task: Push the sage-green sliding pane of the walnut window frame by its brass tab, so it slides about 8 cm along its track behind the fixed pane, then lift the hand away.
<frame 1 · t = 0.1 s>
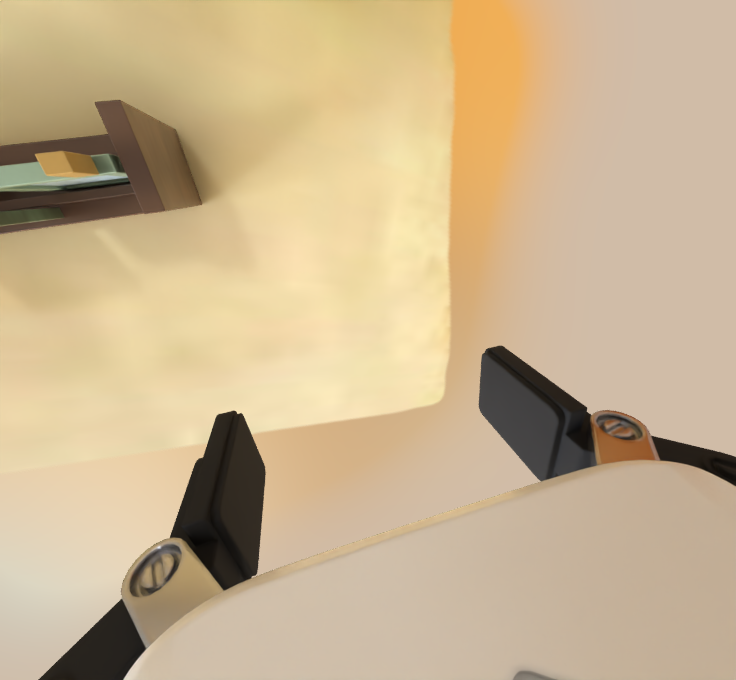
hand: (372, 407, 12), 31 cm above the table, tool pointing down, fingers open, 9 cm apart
sliding pane: (69, 174, 24), point 8 cm above the table, slide at 0.0 cm
window frame: (64, 185, 30), on the table
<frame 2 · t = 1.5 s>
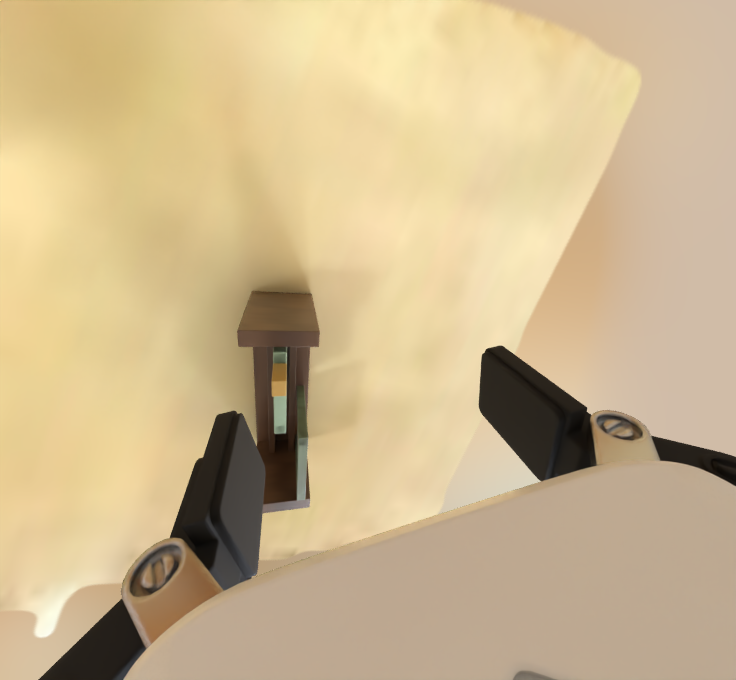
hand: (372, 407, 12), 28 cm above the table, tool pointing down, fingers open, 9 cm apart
sliding pane: (280, 376, 32), point 8 cm above the table, slide at 0.0 cm
window frame: (282, 376, 42), on the table
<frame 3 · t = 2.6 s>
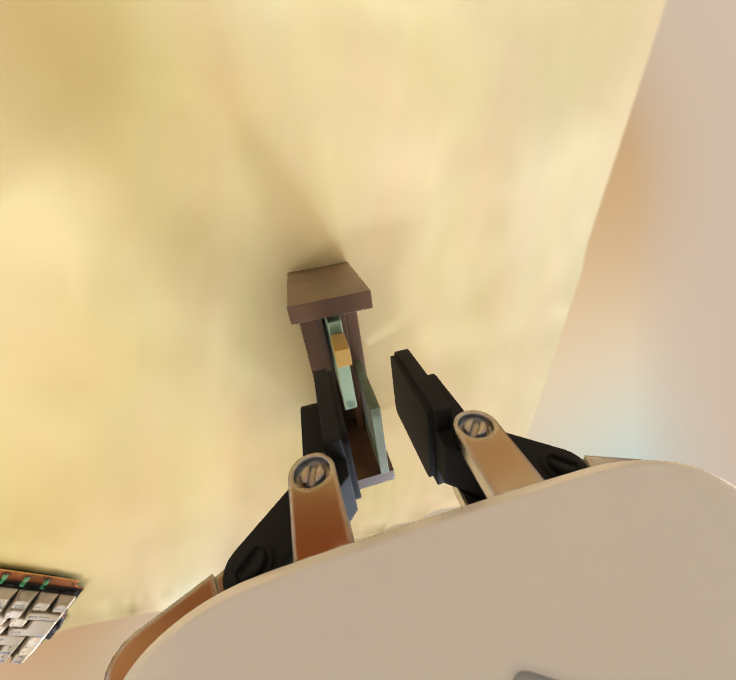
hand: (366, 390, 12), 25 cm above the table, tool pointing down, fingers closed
sliding pane: (338, 351, 31), point 8 cm above the table, slide at 0.0 cm
window frame: (336, 355, 40), on the table
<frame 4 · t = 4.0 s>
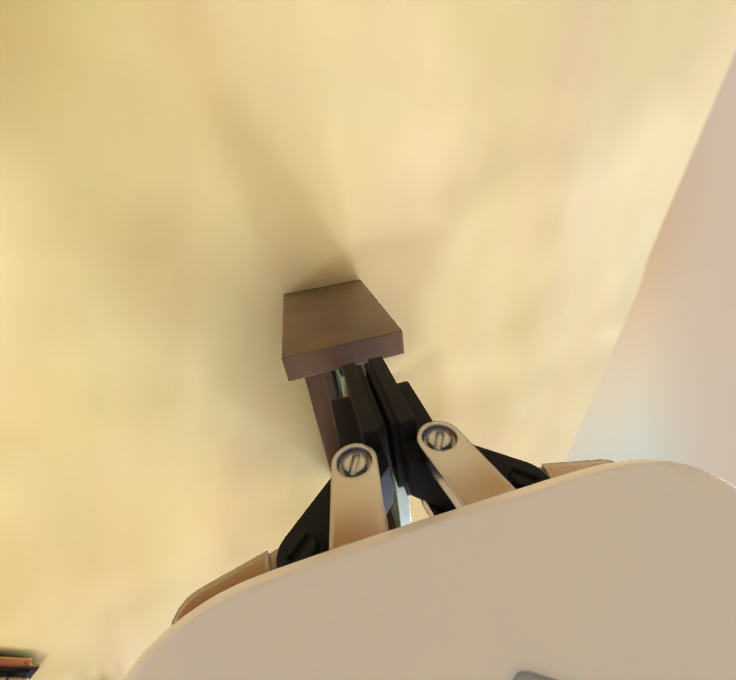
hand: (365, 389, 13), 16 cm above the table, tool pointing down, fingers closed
sliding pane: (351, 401, 23), point 8 cm above the table, slide at 0.0 cm
window frame: (344, 392, 33), on the table
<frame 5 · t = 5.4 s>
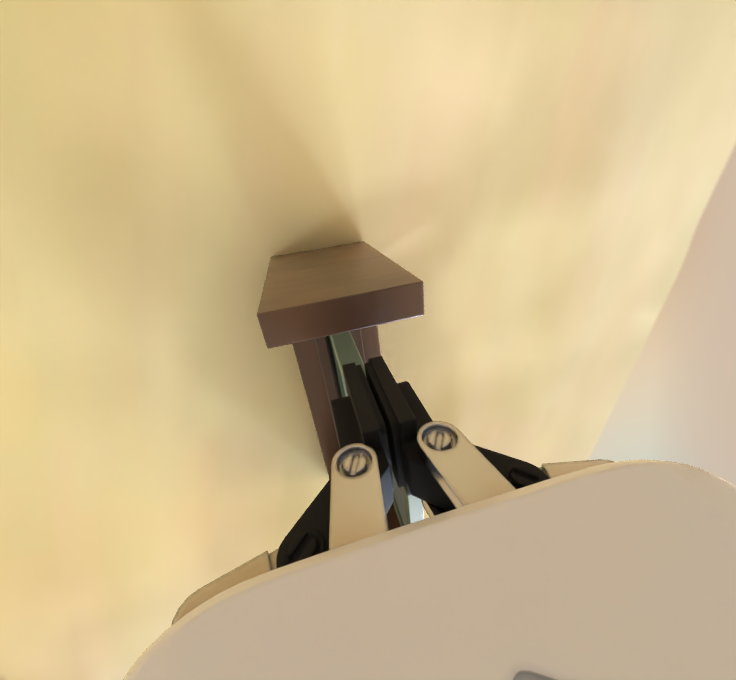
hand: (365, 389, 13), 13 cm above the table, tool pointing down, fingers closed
sliding pane: (356, 410, 19), point 8 cm above the table, slide at 2.0 cm
window frame: (343, 380, 28), on the table
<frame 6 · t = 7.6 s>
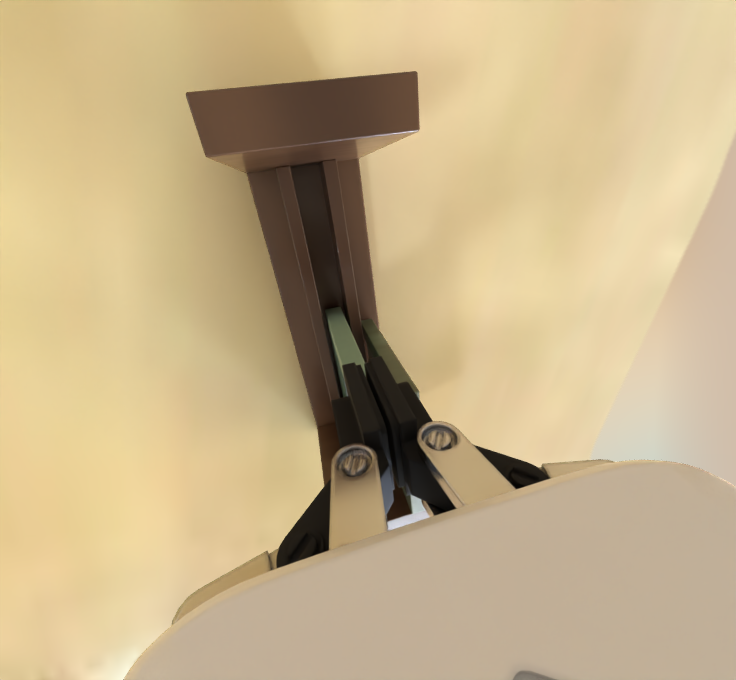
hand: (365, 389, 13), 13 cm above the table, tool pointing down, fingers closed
sliding pane: (358, 411, 19), point 8 cm above the table, slide at 8.9 cm, touching gripper
window frame: (332, 312, 25), on the table
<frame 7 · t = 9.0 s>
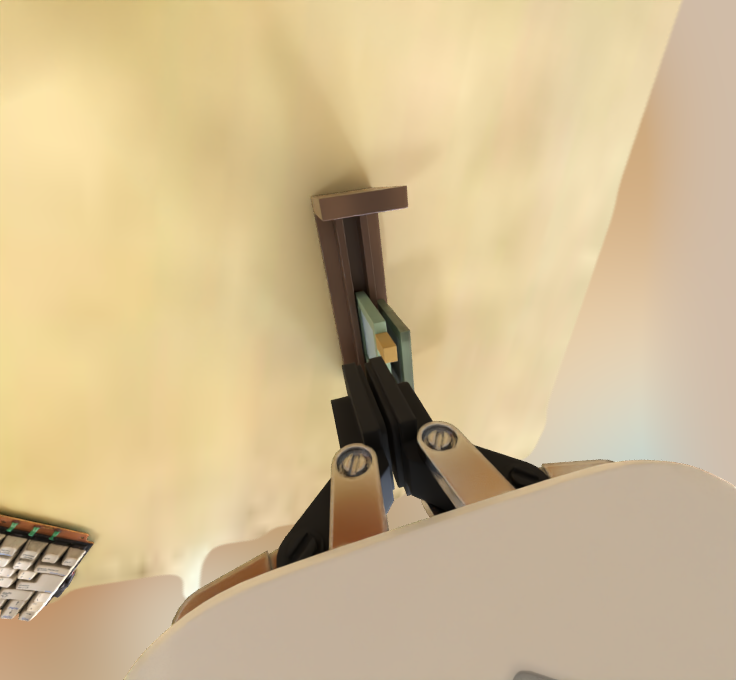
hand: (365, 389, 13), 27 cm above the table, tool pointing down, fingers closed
sliding pane: (376, 349, 33), point 8 cm above the table, slide at 8.9 cm
window frame: (357, 295, 39), on the table
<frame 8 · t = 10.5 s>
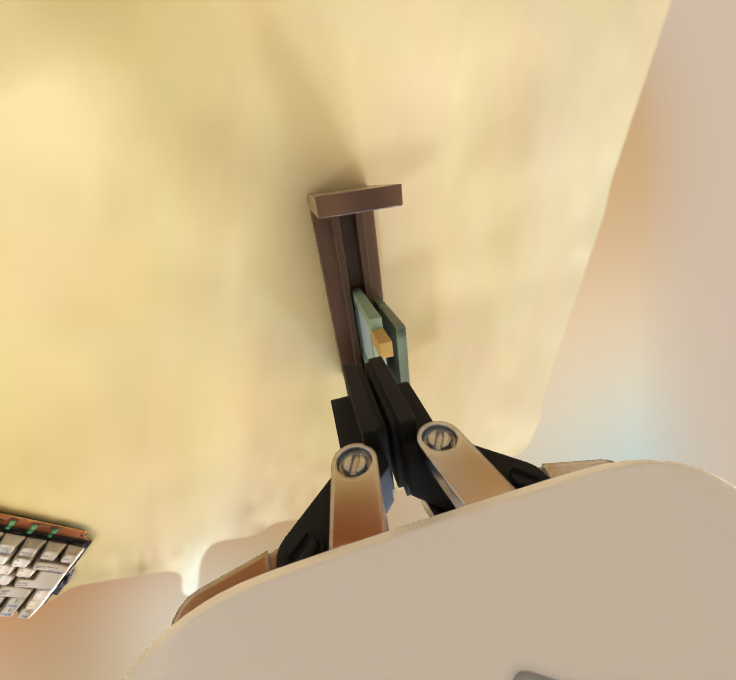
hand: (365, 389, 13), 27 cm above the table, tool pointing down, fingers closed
sliding pane: (372, 345, 34), point 8 cm above the table, slide at 8.9 cm
window frame: (354, 292, 39), on the table
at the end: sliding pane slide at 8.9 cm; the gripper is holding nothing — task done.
